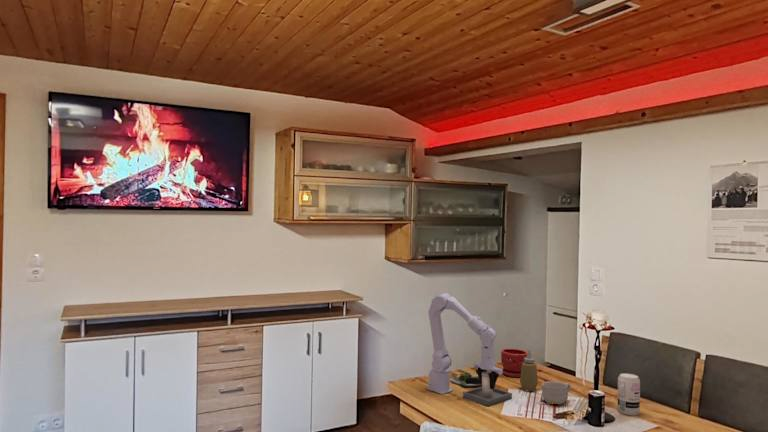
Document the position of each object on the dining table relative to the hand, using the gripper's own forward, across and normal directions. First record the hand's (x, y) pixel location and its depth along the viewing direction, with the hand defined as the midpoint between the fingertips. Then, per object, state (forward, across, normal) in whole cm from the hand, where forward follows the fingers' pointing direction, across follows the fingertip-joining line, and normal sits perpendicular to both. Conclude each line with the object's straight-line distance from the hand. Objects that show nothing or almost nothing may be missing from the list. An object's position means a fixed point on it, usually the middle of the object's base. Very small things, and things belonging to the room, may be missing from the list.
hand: (487, 387), depth 234 cm
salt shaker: (+3, 0, 0) cm, 3 cm away
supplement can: (+5, +47, +32) cm, 57 cm away
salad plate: (+6, -20, +12) cm, 24 cm away
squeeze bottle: (+5, +4, +25) cm, 26 cm away
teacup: (+5, +22, +20) cm, 30 cm away
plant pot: (+5, -15, +40) cm, 43 cm away
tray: (+5, 0, 0) cm, 5 cm away
